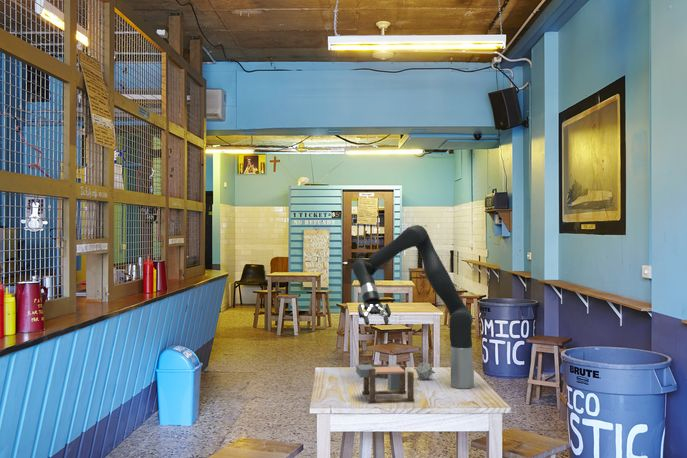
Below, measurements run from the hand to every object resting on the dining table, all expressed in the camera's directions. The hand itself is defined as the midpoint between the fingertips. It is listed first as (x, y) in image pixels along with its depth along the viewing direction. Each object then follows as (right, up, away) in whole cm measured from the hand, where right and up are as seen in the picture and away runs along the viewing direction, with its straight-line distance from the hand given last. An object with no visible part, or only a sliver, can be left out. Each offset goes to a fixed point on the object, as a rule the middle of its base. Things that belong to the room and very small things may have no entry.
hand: (377, 324), depth 267 cm
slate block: (+7, -22, -7) cm, 24 cm away
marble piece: (+3, -28, +22) cm, 36 cm away
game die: (+22, -27, +13) cm, 38 cm away
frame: (+3, -26, -21) cm, 34 cm away
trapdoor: (0, -17, -21) cm, 27 cm away
